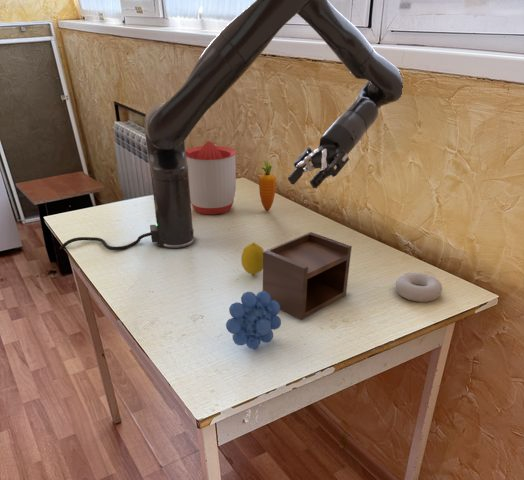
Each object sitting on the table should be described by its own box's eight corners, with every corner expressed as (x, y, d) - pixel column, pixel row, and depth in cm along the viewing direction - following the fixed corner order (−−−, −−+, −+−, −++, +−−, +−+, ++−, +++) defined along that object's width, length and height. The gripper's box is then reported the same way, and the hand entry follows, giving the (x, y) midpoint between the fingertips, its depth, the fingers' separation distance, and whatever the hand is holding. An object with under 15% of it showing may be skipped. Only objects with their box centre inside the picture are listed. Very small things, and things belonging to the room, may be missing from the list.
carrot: (275, 214, 150) (276, 163, 142) (258, 214, 150) (258, 163, 142) (275, 209, 154) (276, 159, 146) (259, 209, 154) (259, 159, 146)
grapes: (241, 369, 87) (239, 310, 80) (221, 351, 91) (217, 293, 84) (293, 348, 92) (296, 291, 85) (272, 332, 97) (273, 276, 90)
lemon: (264, 280, 115) (265, 248, 110) (241, 280, 115) (240, 247, 110) (265, 270, 119) (265, 238, 114) (242, 269, 119) (241, 238, 115)
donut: (439, 308, 105) (441, 286, 112) (442, 294, 103) (444, 273, 110) (391, 300, 107) (396, 280, 115) (393, 286, 105) (399, 266, 113)
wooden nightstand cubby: (301, 320, 100) (304, 268, 94) (262, 301, 106) (262, 251, 100) (346, 295, 109) (351, 246, 102) (307, 279, 115) (310, 231, 109)
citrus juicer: (182, 201, 160) (176, 135, 148) (235, 200, 161) (234, 134, 150) (180, 218, 147) (174, 148, 136) (239, 216, 149) (237, 146, 137)
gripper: (317, 122, 123) (275, 168, 121) (357, 123, 113) (313, 174, 111) (330, 147, 128) (290, 192, 126) (370, 149, 117) (327, 199, 115)
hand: (301, 183), depth 118 cm, fingers open, 8 cm apart
